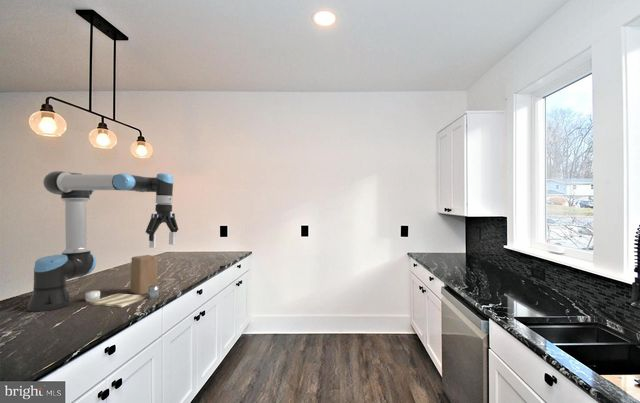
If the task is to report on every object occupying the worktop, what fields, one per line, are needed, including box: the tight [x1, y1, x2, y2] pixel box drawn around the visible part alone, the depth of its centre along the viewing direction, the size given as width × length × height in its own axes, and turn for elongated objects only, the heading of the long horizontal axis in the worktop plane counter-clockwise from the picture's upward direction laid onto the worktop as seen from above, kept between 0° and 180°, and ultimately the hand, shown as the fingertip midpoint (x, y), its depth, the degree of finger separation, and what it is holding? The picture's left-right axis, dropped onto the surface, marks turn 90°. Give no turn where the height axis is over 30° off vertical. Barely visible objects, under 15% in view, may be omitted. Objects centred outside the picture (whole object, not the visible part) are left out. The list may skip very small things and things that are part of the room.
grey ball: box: [147, 284, 160, 300], centre depth 160 cm, size 5×5×6 cm
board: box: [89, 292, 148, 308], centre depth 153 cm, size 18×16×1 cm
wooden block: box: [129, 254, 159, 295], centre depth 169 cm, size 10×10×20 cm
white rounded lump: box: [84, 290, 101, 303], centre depth 154 cm, size 6×6×4 cm
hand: (162, 246), depth 153 cm, fingers open, 13 cm apart
